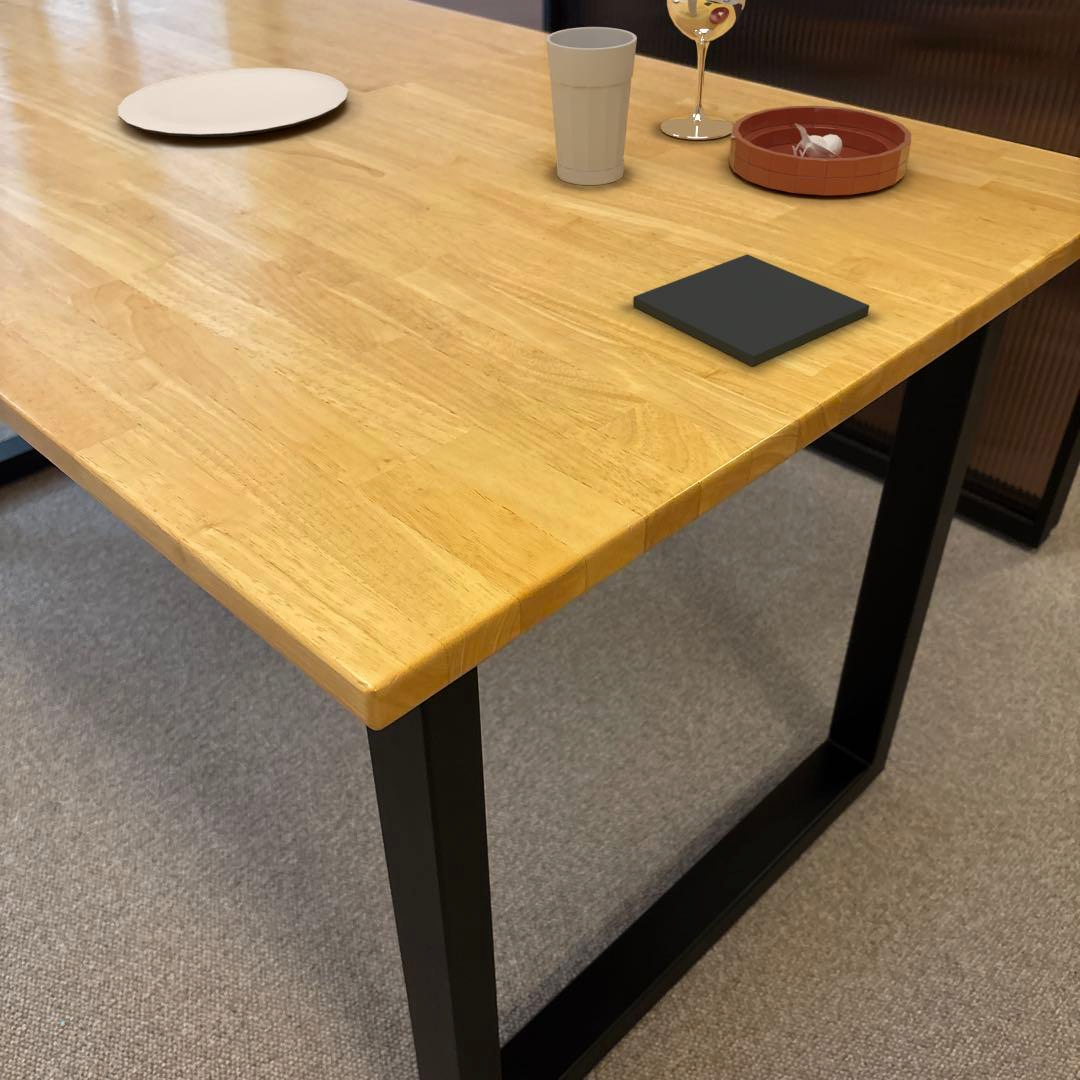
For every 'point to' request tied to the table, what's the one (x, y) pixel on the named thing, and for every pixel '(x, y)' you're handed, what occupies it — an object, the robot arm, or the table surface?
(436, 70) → the table surface
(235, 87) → the plate
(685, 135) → the wineglass
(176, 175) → the table surface
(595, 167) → the cup
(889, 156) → the bowl
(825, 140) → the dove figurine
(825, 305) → the coaster
